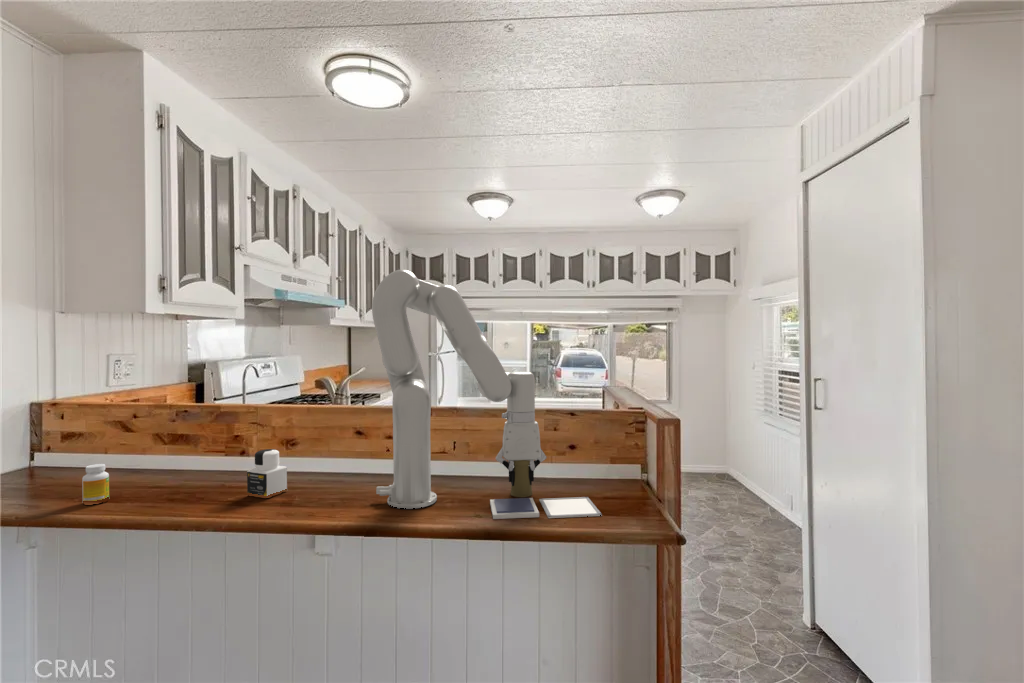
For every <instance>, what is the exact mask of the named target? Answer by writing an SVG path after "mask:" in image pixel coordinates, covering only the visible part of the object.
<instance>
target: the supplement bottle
mask: <svg viewBox="0 0 1024 683" xmlns="http://www.w3.org/2000/svg"><path fill="white" fill-rule="evenodd" d="M105 470H106V464H105V463H95V464H89V465H87V466H85V473H86V474H85V475H83V476H82V481H81V482H82V483H81V484H82V485H81V486H82V488H81V490H82V493H81V494H82V502H83V501H97V500H102V499H105V498H107V497H109V498H110V474H109V472H107V471H105Z"/></svg>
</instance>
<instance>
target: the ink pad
mask: <svg viewBox="0 0 1024 683" xmlns="http://www.w3.org/2000/svg"><path fill="white" fill-rule="evenodd" d="M489 505H490V510H491V515H492V520H500V519H502V520H505V519H524V518H525V519H526V518H529V519H530V518H540V511H539V510H538V507H537V505H536V503H535V501H534V498H533V497H515V498H513V497H512V498H494V499H489Z"/></svg>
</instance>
